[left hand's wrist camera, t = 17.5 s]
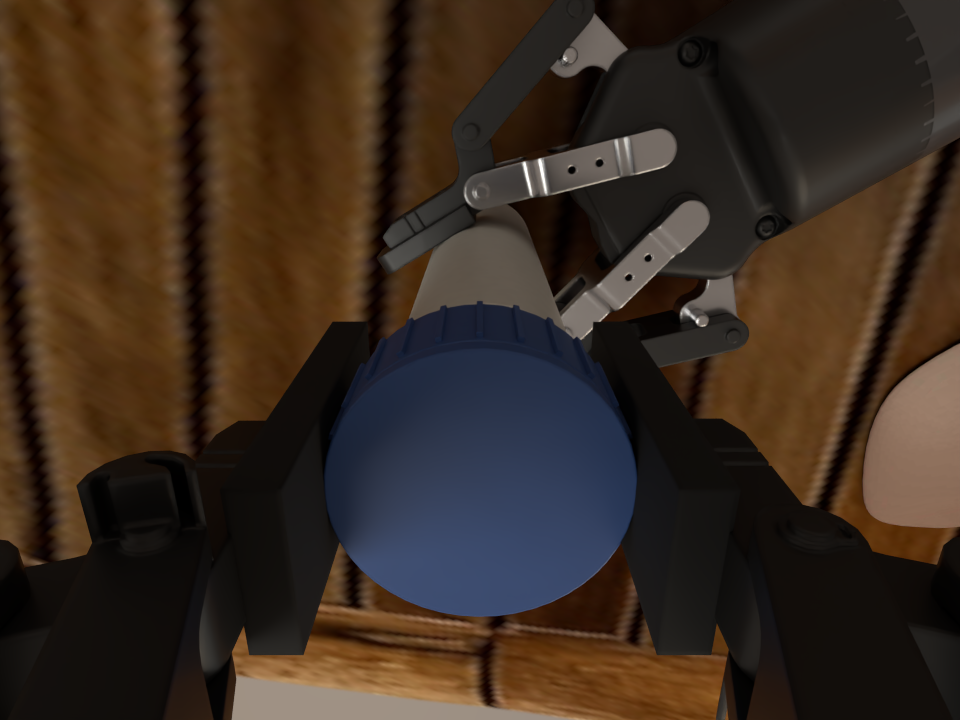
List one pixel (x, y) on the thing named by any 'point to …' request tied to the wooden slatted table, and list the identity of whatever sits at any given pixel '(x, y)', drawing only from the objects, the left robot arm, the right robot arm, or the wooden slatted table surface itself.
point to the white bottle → (488, 269)
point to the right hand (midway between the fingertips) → (423, 316)
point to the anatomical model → (917, 449)
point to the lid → (480, 463)
